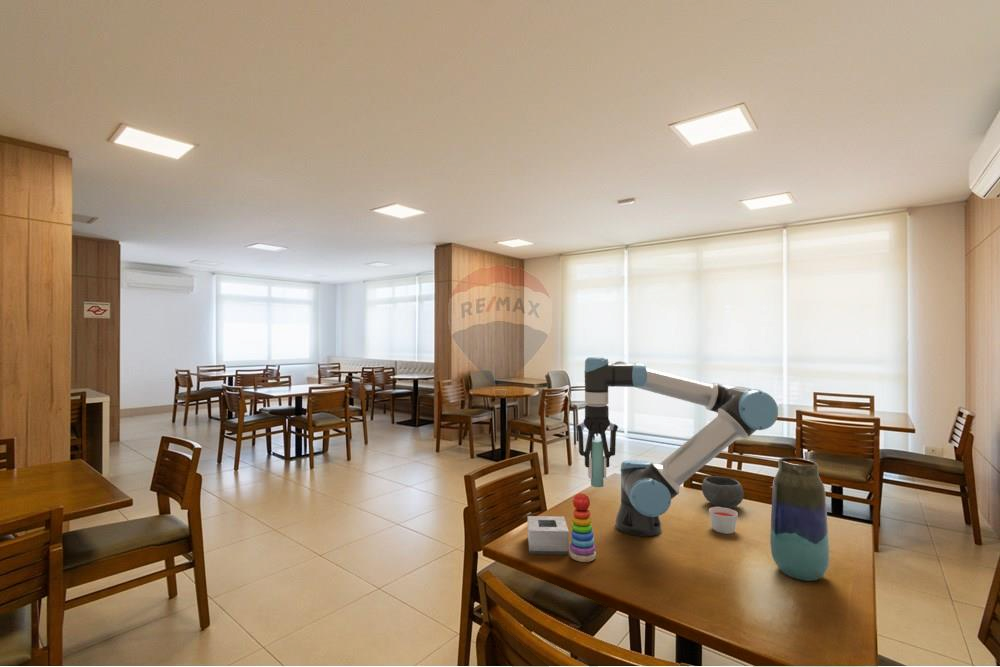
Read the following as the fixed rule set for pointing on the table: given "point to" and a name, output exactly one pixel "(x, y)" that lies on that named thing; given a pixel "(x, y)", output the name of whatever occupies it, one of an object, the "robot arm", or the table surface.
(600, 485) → the peg
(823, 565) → the vase
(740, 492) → the bowl
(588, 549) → the stacking toy
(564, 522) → the socket block
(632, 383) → the robot arm
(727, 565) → the table surface
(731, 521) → the candle
